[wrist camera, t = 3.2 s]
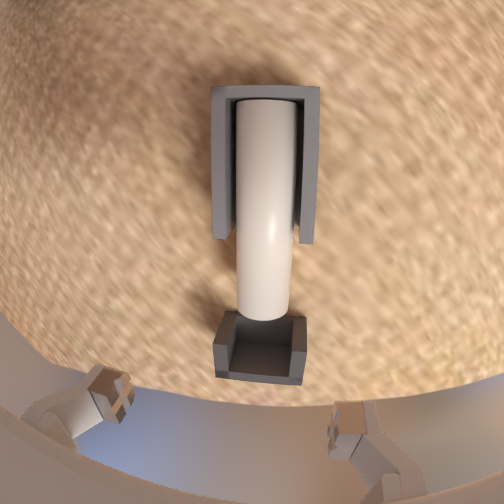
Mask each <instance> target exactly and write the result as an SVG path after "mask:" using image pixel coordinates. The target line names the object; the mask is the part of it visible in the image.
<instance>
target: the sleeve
mask: <svg viewBox="0 0 504 504" xmlns="http://www.w3.org/2000/svg"><path fill="white" fill-rule="evenodd" d="M245 100H282V101H289V102H294V103H297V104H298V120H297V161H296V188H295V210H294V226H299V243H300V244H313V236H314V224H315V209H316V194H317V175H318V152H319V115H320V87H313V86H294V85H234V86H215V87H211V191H212V228H213V239H226V238H227V237H228V236H229V234H230V233H231V231H232V230H233V228H234V227H235V225H236V103H237V102H240V101H245Z"/></svg>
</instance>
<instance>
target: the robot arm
mask: <svg viewBox="0 0 504 504" xmlns="http://www.w3.org/2000/svg"><path fill="white" fill-rule="evenodd" d="M130 379H131V378H130V376H129V373H126V372H123V371H120V370H117V369H114V368H111V367H107V366H104V365H101V364H96V365H94V366H93V368H92V369H91V370H90V371H89V373H88V374H87V375H86V376H85V377H84V379H83V380H82V381H81V382H80V384H79V385H78V386H72V387H70V388H67V389H65V390H62V391H60V392H58V393H55V394H52V395H50V396H48V397H45V398H42V399H40V400H37V401H34V402H33V404H32V405H31V406H30V407H29V408H28V410H27V411H26V412H25V413H24V414H23V416H22V417H21V418H20V419H19V418H18V417H16V416H15V415H13V414H12V413H11V412H9V411H8V410H6V409H5V408H4V407H2V406H1V405H0V504H247V503H239V502H233V501H227V500H221V499H216V498H210V497H206V496H201V495H196V494H192V493H187V492H183V491H180V490H176V489H172V488H168V487H165V486H162V485H159V484H155V483H152V482H149V481H146V480H143V479H140V478H137V477H134V476H132V475H128V474H126V473H124V472H121V471H118V470H116V469H113V468H111V467H108V466H106V465H104V464H101V463H99V462H97V461H95V460H92V459H90V458H88V457H86V456H84V455H82V454H80V453H78V452H77V450H78V446H77V444H76V443H75V442H74V440H73V438H75V437H76V436H78V435H80V434H81V433H83V432H85V431H86V430H88V429H90V428H91V427H93V426H94V425H96V424H98V423H99V422H101V421H102V420H103V419H105V420H108V421H111V422H114V423H117V424H120V423H121V422H122V420H123V418H124V417H125V415H126V410H125V409H126V408H128V407H130V406H131V405H132V403H133V401H134V396H135V391H134V387H133V386H132V385H131V384H130V382H129V381H130ZM327 435H328V437H329V439H330V441H329V443H328V459H350V461H351V463H352V464H353V466H354V467H355V468H356V470H357V471H358V472H359V474H360V475H361V476H362V478H363V479H364V480H365V482H366V483H367V484H368V486H369V487H370V488H371V490H370V492H368V494H367V495H366V496H365V497H364V498H363V499H362V500H361V501H360V502H361V504H504V471H501V472H497V473H495V474H492V475H490V476H487V477H485V478H482V479H479V480H476V481H474V482H471V483H468V484H465V485H461V486H458V487H455V488H452V489H448V490H444V491H441V492H437V493H433V494H429V495H427V489H426V484H425V479H424V475H423V470H422V467H421V466H420V465H419V464H417V463H416V462H415V461H414V460H413V459H412V458H411V457H409V455H408V454H406V453H405V452H404V451H403V450H402V449H401V448H400V447H399V446H398V445H397V444H396V443H395V442H394V441H393V440H392V439H391V438H390V437H389V436H387V435H386V434H385V433H381V429H380V424H379V419H378V414H377V409H376V404H375V402H374V400H370V401H335V402H334V404H333V413H331V414H330V417H329V421H328V429H327Z"/></svg>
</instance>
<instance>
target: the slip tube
mask: <svg viewBox="0 0 504 504" xmlns="http://www.w3.org/2000/svg"><path fill="white" fill-rule="evenodd" d="M297 120H298V104H297V103H294V102H289V101H282V100H245V101H240V102H237V103H236V255H237V309H238V311H239V312H240V313H241V314H242V315H243V316H245V317H247V318H250V319H253V320H259V321H268V320H274V319H277V318H280V317H282V316H283V315H284V314H285V313H286V312H287V310H288V303H289V290H290V277H291V262H292V247H293V229H294V210H295V188H296V161H297Z"/></svg>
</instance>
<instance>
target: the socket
mask: <svg viewBox="0 0 504 504" xmlns="http://www.w3.org/2000/svg"><path fill="white" fill-rule="evenodd" d="M213 354H214V365H215V375H216V377H218V378H225V379H233V380H241V381H250V382H259V383H270V384H283V385H298V386H301V385H302V379H303V373H304V368H305V361H306V355H307V322H306V318H304V317H288V316H282V317H280V318H277V319H274V320H268V321H259V320H253V319H250V318H247V317H245V316H243V315H242V314H241V313H238V312H228V311H226V312H225V314H224V317H223V319H222V322H221V324H220V327H219V329H218V332H217V334H216V337H215V339H214V342H213Z"/></svg>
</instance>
